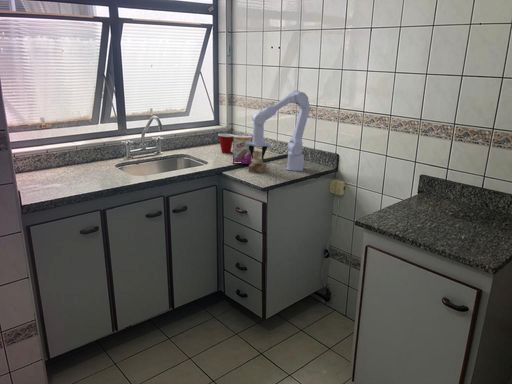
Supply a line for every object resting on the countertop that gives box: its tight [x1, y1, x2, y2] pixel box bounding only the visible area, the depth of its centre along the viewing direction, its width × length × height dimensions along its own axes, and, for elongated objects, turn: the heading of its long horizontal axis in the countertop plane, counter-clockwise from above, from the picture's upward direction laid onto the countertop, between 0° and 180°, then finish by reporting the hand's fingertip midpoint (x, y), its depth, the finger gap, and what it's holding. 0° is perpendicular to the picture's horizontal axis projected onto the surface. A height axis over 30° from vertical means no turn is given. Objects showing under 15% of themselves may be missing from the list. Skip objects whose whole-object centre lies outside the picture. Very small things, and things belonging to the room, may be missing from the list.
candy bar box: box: [232, 134, 253, 165], centre depth 247 cm, size 11×5×16 cm, turn 84°
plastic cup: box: [217, 133, 235, 154], centre depth 271 cm, size 11×11×12 cm
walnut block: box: [248, 161, 267, 174], centre depth 235 cm, size 8×8×4 cm
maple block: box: [252, 150, 264, 164], centre depth 233 cm, size 5×5×6 cm
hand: (257, 159), depth 234 cm, fingers closed on maple block, 5 cm apart
